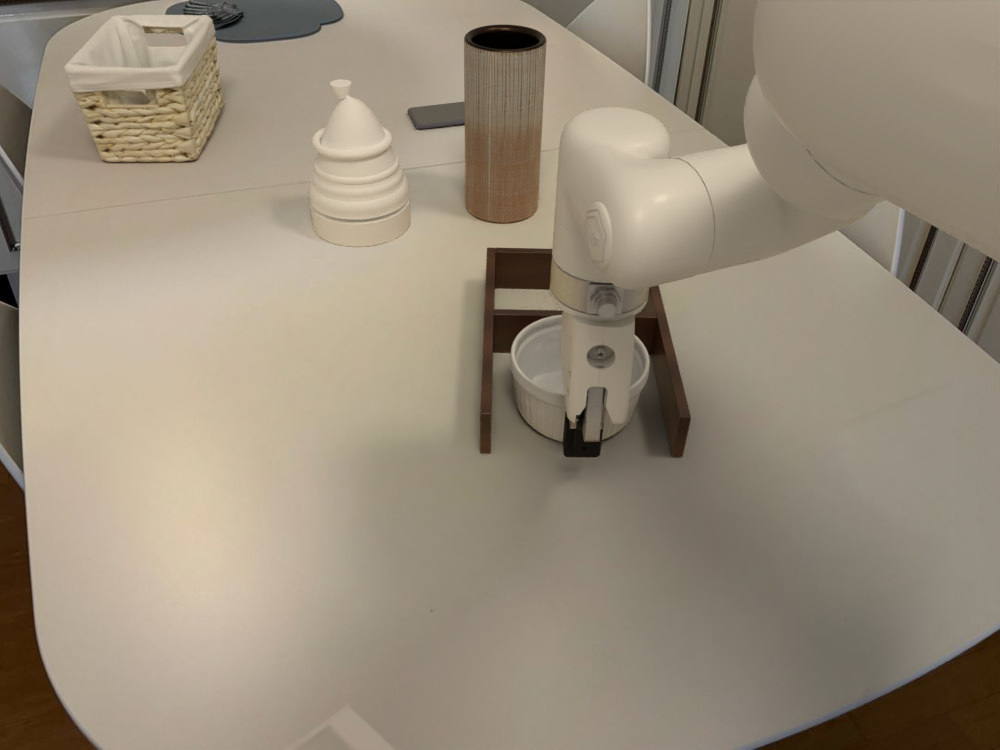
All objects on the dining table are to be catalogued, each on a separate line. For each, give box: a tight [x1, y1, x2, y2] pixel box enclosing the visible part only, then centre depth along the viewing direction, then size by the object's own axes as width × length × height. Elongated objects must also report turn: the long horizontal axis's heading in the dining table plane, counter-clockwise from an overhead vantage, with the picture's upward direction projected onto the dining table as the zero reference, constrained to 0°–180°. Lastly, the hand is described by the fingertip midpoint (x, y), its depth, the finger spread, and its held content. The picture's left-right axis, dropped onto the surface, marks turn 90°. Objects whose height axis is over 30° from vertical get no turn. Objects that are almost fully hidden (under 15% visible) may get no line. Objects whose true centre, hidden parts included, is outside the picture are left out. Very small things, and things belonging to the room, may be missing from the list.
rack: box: [479, 247, 692, 458], centre depth 89 cm, size 29×19×5 cm, turn 179°
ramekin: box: [509, 315, 651, 443], centre depth 83 cm, size 13×13×7 cm
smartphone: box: [407, 101, 465, 130], centre depth 141 cm, size 8×1×15 cm
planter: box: [463, 24, 548, 224], centre depth 110 cm, size 10×10×23 cm
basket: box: [63, 14, 226, 163], centre depth 129 cm, size 24×16×15 cm
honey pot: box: [308, 78, 411, 248], centre depth 108 cm, size 13×13×18 cm
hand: (580, 450), depth 76 cm, fingers closed
